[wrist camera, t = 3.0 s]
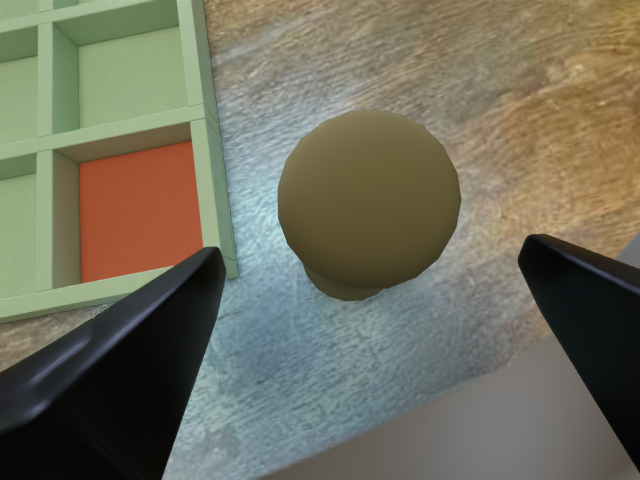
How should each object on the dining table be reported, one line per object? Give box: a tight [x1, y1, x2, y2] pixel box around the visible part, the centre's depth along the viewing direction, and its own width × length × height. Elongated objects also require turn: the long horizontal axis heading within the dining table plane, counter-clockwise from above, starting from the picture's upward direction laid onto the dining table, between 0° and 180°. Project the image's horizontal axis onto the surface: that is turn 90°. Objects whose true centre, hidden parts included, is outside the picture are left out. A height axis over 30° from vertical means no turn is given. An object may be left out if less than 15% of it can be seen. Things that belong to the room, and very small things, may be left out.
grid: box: [0, 0, 239, 324], centre depth 21 cm, size 39×20×2 cm, turn 11°
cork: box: [278, 110, 461, 301], centre depth 12 cm, size 6×6×11 cm
